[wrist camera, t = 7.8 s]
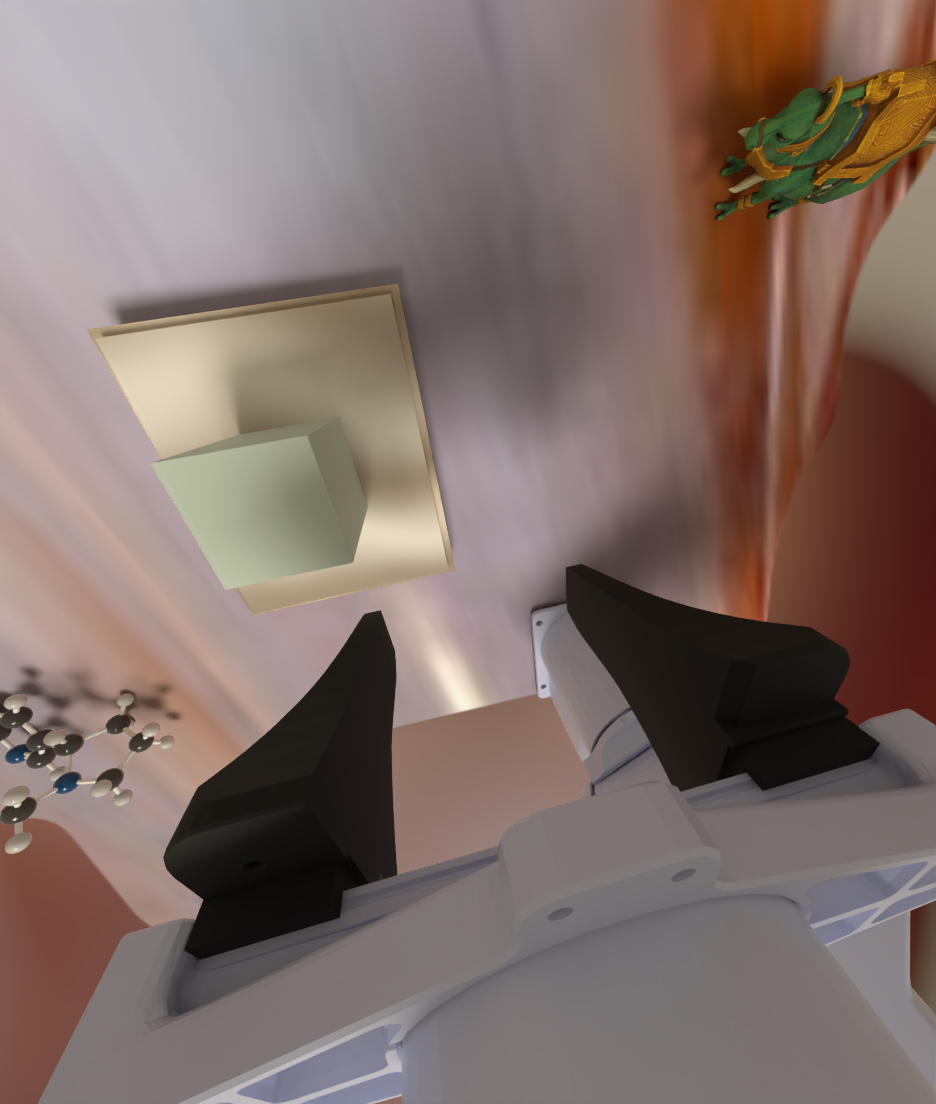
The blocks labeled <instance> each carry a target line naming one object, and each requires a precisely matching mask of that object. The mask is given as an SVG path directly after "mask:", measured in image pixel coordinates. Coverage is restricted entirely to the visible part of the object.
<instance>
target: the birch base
mask: <svg viewBox="0 0 936 1104" xmlns="http://www.w3.org/2000/svg"><path fill="white" fill-rule="evenodd" d="M87 331H88V332H89V334H90V336H91V338H92V339H93V341H94V343H95V345H96V346H97V348H98V350H99V351H100V353H101V355H102V357H103V358H104V360H105V362H106V364H107V365H108V367H109V369H110V370H111V372H112V374H113V376H114V377H115V379H116V381H117V383H118V384H119V386H120V388H121V390H122V391H123V393H124V395H125V396H126V398H127V400H128V402H129V403H130V405H131V407H132V409H133V410H134V412H135V414H136V415H137V417H138V419H139V421H140V422H141V424H142V426H143V428H144V429H145V431H146V433H147V434H148V436H149V438H150V440H151V441H152V443H153V445H154V447H155V448H156V450H157V452H158V453H159V455H160V457H161V459H165V458H168V457H171V456H174V455H177V454H180V453H184V452H187V451H190V450H193V449H196V448H199V447H202V446H205V445H208V444H211V443H214V442H217V441H220V440H224V439H227V438H230V437H233V436H236V435H239V434H244V433H250V432H256V431H261V430H267V429H273V428H278V427H284V426H290V425H296V424H301V423H307V422H313V421H319V420H324V419H330V418H336V417H340V419H341V422H342V425H343V428H344V432H345V435H346V438H347V441H348V445H349V448H350V451H351V454H352V458H353V461H354V464H355V467H356V471H357V474H358V477H359V481H360V484H361V487H362V490H363V494H364V497H365V500H366V503H367V507H368V509H367V512H366V516H365V520H364V523H363V527H362V531H361V535H360V538H359V542H358V546H357V550H356V553H355V557H354V561H353V563H349V564H345V565H340V566H335V567H330V568H326V569H321V570H316V571H312V572H307V573H302V574H298V575H293V576H288V577H283V578H279V579H274V580H269V581H265V582H260V583H255V584H250V585H246V586H241V587H236V588H237V590H238V592H239V593H240V595H241V597H242V599H243V600H244V602H245V604H246V606H247V607H248V609H249V611H250V612H251V614H252V616H253V615H258V614H262V613H267V612H271V611H276V610H280V609H284V608H289V607H293V606H298V605H302V604H307V603H311V602H316V601H320V600H325V599H329V598H334V597H338V596H343V595H347V594H352V593H356V592H360V591H365V590H369V589H374V588H378V587H383V586H387V585H392V584H396V583H401V582H405V581H410V580H414V579H419V578H423V577H428V576H432V575H436V574H441V573H445V572H450V571H454V570H455V566H454V561H453V556H452V551H451V546H450V541H449V536H448V531H447V526H446V521H445V516H444V511H443V506H442V501H441V496H440V491H439V486H438V481H437V476H436V471H435V466H434V461H433V456H432V451H431V446H430V441H429V436H428V431H427V426H426V421H425V416H424V411H423V406H422V401H421V396H420V391H419V386H418V381H417V376H416V371H415V366H414V361H413V356H412V351H411V346H410V341H409V336H408V331H407V326H406V321H405V316H404V311H403V306H402V301H401V296H400V291H399V286H398V283H397V284H390V285H383V286H377V287H370V288H363V289H356V290H350V291H343V292H336V293H329V294H323V295H316V296H309V297H303V298H296V299H289V300H282V301H276V302H269V303H262V304H255V305H249V306H242V307H235V308H228V309H222V310H215V311H208V312H201V313H195V314H188V315H181V316H175V317H168V318H161V319H154V320H148V321H141V322H134V323H127V324H121V325H114V326H107V327H100V328H94V329H87Z"/></svg>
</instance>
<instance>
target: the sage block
mask: <svg viewBox="0 0 936 1104" xmlns="http://www.w3.org/2000/svg"><path fill="white" fill-rule="evenodd" d="M150 464H151V465H152V467H153V469H154V470H155V472H156V474H157V475H158V477H159V479H160V481H161V482H162V484H163V486H164V487H165V489H166V491H167V492H168V494H169V496H170V497H171V499H172V501H173V502H174V504H175V506H176V508H177V509H178V511H179V513H180V514H181V516H182V518H183V519H184V521H185V523H186V524H187V526H188V528H189V529H190V531H191V533H192V534H193V536H194V538H195V540H196V541H197V543H198V545H199V546H200V548H201V550H202V551H203V553H204V555H205V556H206V558H207V560H208V561H209V563H210V565H211V566H212V568H213V570H214V572H215V573H216V575H217V577H218V578H219V580H220V582H221V583H222V585H223V587H224V588H225V590H227V589H232V588H236V587H241V586H246V585H250V584H255V583H260V582H265V581H269V580H274V579H279V578H283V577H288V576H293V575H298V574H302V573H307V572H312V571H316V570H321V569H326V568H330V567H335V566H340V565H345V564H349V563H353V561H354V557H355V553H356V550H357V546H358V542H359V538H360V535H361V531H362V527H363V523H364V520H365V516H366V512H367V509H368V507H367V503H366V500H365V497H364V494H363V490H362V487H361V484H360V481H359V477H358V474H357V471H356V467H355V464H354V461H353V458H352V454H351V451H350V448H349V445H348V441H347V438H346V435H345V432H344V428H343V425H342V422H341V419H340V417H336V418H330V419H324V420H319V421H313V422H307V423H301V424H296V425H290V426H284V427H278V428H273V429H267V430H261V431H256V432H250V433H244V434H239V435H236V436H233V437H230V438H227V439H224V440H220V441H217V442H214V443H211V444H208V445H205V446H202V447H199V448H196V449H193V450H190V451H187V452H184V453H180V454H177V455H174V456H171V457H168V458H165V459H162V460H159V461H156V462H153V463H150Z"/></svg>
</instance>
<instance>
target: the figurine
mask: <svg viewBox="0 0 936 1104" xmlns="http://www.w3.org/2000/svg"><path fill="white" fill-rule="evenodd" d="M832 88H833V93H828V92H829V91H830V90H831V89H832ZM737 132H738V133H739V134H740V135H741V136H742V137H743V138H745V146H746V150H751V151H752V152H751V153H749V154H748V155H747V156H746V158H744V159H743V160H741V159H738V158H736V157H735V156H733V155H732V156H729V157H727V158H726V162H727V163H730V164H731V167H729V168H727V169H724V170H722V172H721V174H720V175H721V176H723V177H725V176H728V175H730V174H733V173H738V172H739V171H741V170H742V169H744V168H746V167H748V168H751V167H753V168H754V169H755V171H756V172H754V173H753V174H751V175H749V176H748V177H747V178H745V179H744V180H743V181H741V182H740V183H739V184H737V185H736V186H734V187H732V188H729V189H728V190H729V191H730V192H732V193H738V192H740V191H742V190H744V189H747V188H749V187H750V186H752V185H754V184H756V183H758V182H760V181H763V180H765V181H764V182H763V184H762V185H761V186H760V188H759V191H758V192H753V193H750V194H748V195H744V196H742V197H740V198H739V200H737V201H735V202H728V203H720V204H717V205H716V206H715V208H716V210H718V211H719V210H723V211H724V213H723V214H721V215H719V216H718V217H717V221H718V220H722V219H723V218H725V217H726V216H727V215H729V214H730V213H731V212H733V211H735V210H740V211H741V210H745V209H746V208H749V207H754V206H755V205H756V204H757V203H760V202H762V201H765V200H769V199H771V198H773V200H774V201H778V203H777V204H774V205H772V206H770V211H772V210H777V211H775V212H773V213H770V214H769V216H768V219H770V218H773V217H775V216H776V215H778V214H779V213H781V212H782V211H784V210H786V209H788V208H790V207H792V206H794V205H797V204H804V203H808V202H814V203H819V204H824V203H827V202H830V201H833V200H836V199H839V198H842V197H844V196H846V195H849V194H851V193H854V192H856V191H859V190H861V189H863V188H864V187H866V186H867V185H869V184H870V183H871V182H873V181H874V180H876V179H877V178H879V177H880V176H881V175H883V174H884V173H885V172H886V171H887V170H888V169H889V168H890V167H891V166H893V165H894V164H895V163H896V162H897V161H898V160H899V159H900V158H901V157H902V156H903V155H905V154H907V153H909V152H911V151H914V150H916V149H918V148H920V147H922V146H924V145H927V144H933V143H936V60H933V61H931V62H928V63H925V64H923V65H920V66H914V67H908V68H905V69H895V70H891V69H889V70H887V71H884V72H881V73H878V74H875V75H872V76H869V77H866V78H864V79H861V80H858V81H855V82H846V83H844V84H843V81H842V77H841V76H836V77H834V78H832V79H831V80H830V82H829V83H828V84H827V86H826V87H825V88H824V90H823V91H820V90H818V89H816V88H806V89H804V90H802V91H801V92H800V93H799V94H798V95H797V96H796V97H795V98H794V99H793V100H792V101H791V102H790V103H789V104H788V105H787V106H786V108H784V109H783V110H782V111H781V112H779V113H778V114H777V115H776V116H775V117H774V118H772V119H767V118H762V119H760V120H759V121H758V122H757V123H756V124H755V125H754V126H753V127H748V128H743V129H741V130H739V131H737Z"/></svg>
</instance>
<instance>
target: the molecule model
mask: <svg viewBox="0 0 936 1104" xmlns="http://www.w3.org/2000/svg"><path fill="white" fill-rule="evenodd" d="M27 700H28V699H27V696H26V695H24V694H15V695H12V696H10V697H8V698H7V699H6V700H5V701H4V704H0V742H1V743H3V744H4V745H5V746H6V747H7V748H8V749H10V750H9V751H8V752H7V754H6V756H5V760H6V761H7V762H8V763H12V764H15V763H20V762H22V761H24V760H26V759H27V761H26V763H27V766H28V767H30V768H34V769H37V768H42V767H44V766H47V767H48V768H49V769H50V770H52V773H51V774H50V780H51V781H54V782H55V783H54V785H53V789H51V790H50V791H48V792H46V793H44V794H42V795H41V796H39V797H37V798H35V799H34V798H32V797H28V795H29V788H28V787H26V786H18V787H15V788H13V789H11V790H9V791H8V792H7V793H6V794H5V795H4V796H3V798H2V803H3V804H4V805H6V807H5V808H4V809H3V810H2V811H0V821H1V823H3V824H5V825H14V824H15V836H13V837H12V838H11V839H10V840H9V841H8V842H7V843H6V845H5V851H6V852H7V853H9V854H14V853H17V852H20V851H21V850H23V849H24V848H26V847H27V846H28V845H29V844H30V842H31V839H32V836H31V834H30V833H28V832H22V830H23V829H22V828H23V826H22V825H23V821H24V820H26V819H27V818H28V817H30V816H31V815H32V814H33V812H34V811H35V809H36V807H37V802H39V801H41V800H42V799H44V798H46V797H48V796H49V795H51V794H53V793H55V792H56V793H58V794H65V793H68V792H70V791H72V790H74V789H75V788H76V787H77V786H78V785H79V784H91V783H95V784H94V785H93V787H92V788H91V791H90V794H91V796H93V797H101V796H104V795H105V794H107V793H108V792H109V791H111V790H114V792H115V793H116V796H115V797H114V799H113V803H114V805H116V806H123V805H125V804H127V803H128V802H129V801H130V800H131V798H132V795H133V793H132V791H131V790H128V789H126V790H121V789H120V788H119V786H118V785H119V784H120V783H121V782H122V780H123V777H124V773H123V771H122V770H121V769H122V768H123V767H124V766H125V764H126V763H127V762H128V761H129V760H130V758H131V757H132V756H133V755H134V754H135V752H137V753H138V752H143V751H145V750H147V749H148V748H149V747H150V746H151V745H152V744H158V747H159V748H160V749H167V748H169V747H171V746H172V745H173V743H174V738H173V736H170V735H167V736H164V737H162V738H161V739H160V740H154V735H156V734H157V733H158V732H159V730H160V725H159V724H158V723H155V722H153V723H149V724H147V725H146V726H145V727H144V728H143V730H142V732H140V733H138V734H135V733H134V732H133V731H131V730H130V729H131V728H132V727H133V725H134V721H133V720H132V719H131V718H130V717H129V716H128V715H126V714H124V712H125V709H126V706H128V705H130V704H131V703H132V702H133V701H134V695H133V694H131V693H125V694H122V695H121V696H119V697H118V699H117V705H119V706H121V709H120V712H119V715H116V716H114V717H112V718H111V719H110V720H109V721H108V722H107V723H106V727H105V728H103V729H101V730H98V731H96V732H94V733H91V734H89V735H86V736H84V737H82V736H81V735H79V734H69V735H66V732H65V731H64V730H61V729H57V730H50V729H45V730H41V731H36V730H35V729H34V728H33V727H32V726H31V725H30V724H29V723H28V722H29V721H30V720H31V718H32V716H33V712H32V710H31V709H30V708H28V707H22V706H23V705H25V704H26V702H27ZM9 709H10V710H9ZM20 726H22V727H23V728H25V729H26V730H27V731H28V732H29V733H30V734H31V736H30V737H29V738H28V740H27V742H26V744H21V745H17V746H14V745H13V744H12V743H11V742H10V741H9V740H8V739H6V738H7V737H8V736H9V735H10V733H11V730H12V729H11V728H17V727H20ZM106 731H107V732H108V733H110V734H119V733H122V732H125V733H126V734H128V735H129V736H130V737H132V739H131V740H130V742H129V749H130V750H131V752H130V753H129V754H128V756H127V757H126V758H125V759H124V760H123V761H122V763H121V764H120V765H119V766H118V767H117V768H112V769H109V770H106V771H105V772H103V773H102V774H101V775H100V776H99V777H98V778H95V779H81V775H80V774H79V773H78V772H71V763H72V754H74V753H75V752H77V751H78V750H79V749H80V748H81V747H82V746H83V743H84V740H87V739H89V738H92V737H94V736H96V735H99V734H101V733H103V732H106ZM54 745H55V746H54ZM50 746H54V748H52V747H50ZM33 751H34V752H33ZM56 754H57V755H59V756H66V759H65V766H61V767H58V768H57V767H56V766H55V765H54V764H53V763H52V761H53V760H54V759H55V757H56Z"/></svg>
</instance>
